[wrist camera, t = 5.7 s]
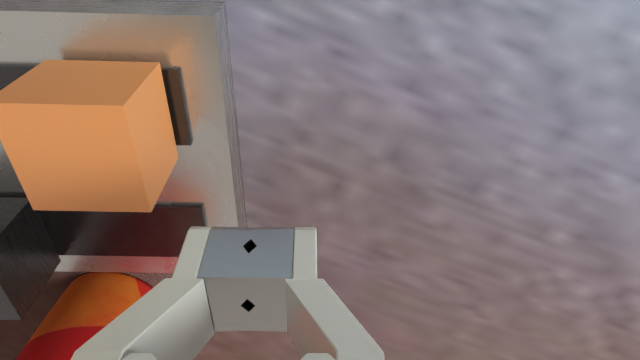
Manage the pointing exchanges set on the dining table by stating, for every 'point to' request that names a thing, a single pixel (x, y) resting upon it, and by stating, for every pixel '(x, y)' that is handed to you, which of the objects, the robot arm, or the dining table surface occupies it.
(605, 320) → the dining table surface
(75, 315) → the coffee cup
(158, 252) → the plate
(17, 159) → the orange cube
